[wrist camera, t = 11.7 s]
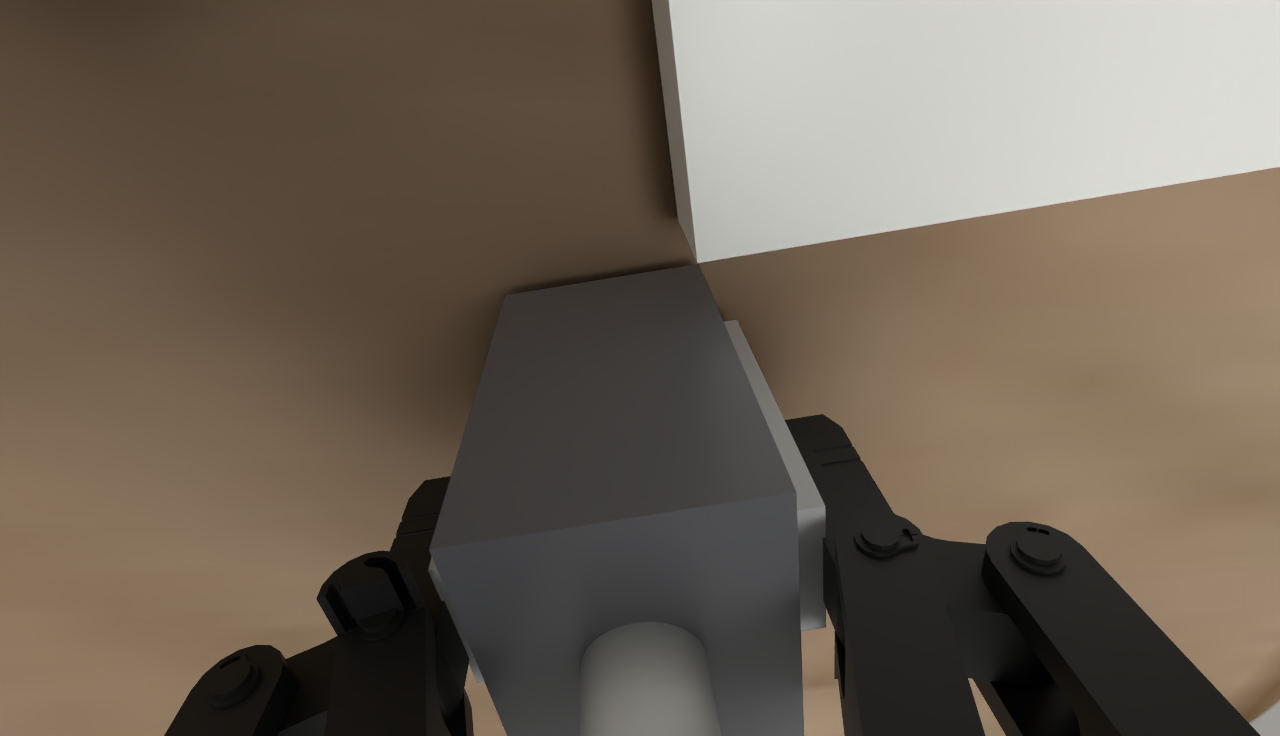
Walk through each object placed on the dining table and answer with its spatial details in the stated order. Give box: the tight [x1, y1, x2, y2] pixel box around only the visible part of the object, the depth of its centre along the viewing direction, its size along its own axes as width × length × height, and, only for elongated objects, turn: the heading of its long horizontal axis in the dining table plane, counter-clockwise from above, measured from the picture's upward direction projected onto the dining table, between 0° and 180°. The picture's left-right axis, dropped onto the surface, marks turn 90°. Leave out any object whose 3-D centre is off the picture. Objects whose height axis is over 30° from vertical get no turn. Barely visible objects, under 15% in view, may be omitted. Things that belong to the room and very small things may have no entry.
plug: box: [429, 264, 804, 736], centre depth 12 cm, size 6×4×10 cm
